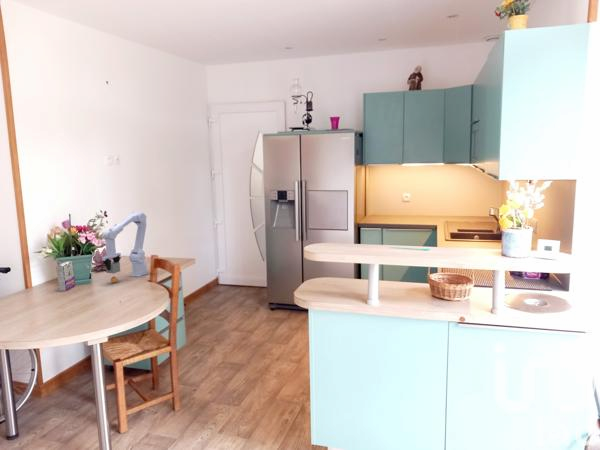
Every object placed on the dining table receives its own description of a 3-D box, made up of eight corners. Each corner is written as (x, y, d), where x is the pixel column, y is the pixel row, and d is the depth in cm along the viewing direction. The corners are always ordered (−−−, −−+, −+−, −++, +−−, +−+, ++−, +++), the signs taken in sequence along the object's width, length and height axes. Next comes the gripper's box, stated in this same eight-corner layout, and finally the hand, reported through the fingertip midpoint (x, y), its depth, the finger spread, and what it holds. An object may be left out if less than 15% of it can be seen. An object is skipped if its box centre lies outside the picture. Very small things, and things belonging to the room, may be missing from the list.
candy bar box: (67, 286, 289) (65, 261, 286) (75, 285, 289) (73, 261, 286) (58, 291, 278) (55, 265, 275) (66, 291, 278) (63, 265, 275)
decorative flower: (123, 266, 338) (122, 247, 335) (104, 274, 317) (102, 253, 315) (100, 265, 343) (98, 246, 341) (79, 272, 323) (77, 252, 321)
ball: (116, 274, 296) (119, 279, 295) (112, 278, 297) (115, 282, 297) (111, 276, 292) (115, 281, 291) (108, 279, 293) (111, 284, 293)
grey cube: (113, 270, 297) (112, 261, 296) (120, 271, 295) (119, 262, 294) (106, 272, 292) (105, 263, 291) (113, 273, 290) (112, 264, 289)
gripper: (107, 251, 283) (109, 272, 285) (123, 246, 297) (125, 266, 299) (98, 250, 286) (100, 271, 288) (115, 246, 299) (117, 266, 301)
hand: (112, 268), depth 293 cm, fingers closed on grey cube, 6 cm apart
